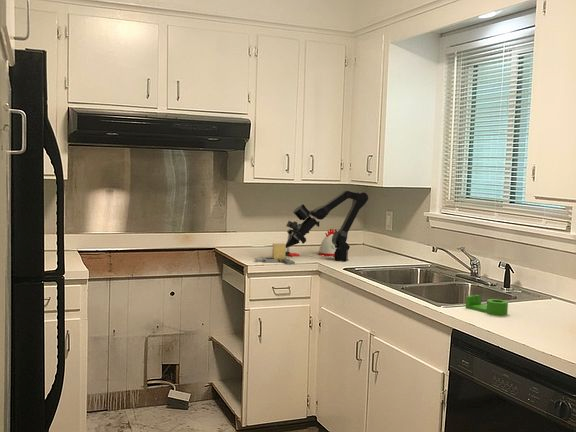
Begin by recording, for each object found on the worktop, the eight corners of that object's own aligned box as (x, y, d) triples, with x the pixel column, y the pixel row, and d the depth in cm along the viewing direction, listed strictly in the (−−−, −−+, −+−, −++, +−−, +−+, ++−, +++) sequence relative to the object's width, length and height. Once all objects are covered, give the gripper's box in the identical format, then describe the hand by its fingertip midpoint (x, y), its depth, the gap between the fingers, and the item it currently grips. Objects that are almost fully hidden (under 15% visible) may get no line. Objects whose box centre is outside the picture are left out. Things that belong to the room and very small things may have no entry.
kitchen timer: (347, 256, 358) (348, 229, 357) (326, 257, 352) (327, 230, 351) (334, 252, 370) (335, 227, 369) (314, 253, 364) (315, 227, 363)
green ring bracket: (511, 315, 225) (512, 302, 225) (498, 317, 222) (499, 304, 221) (477, 306, 238) (478, 294, 238) (464, 308, 234) (465, 296, 234)
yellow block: (283, 260, 334) (283, 243, 333) (285, 261, 330) (285, 244, 329) (272, 260, 332) (272, 243, 332) (274, 261, 328) (274, 244, 328)
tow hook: (289, 254, 360) (280, 255, 353) (291, 231, 360) (281, 232, 352) (302, 256, 356) (292, 257, 348) (303, 233, 355) (294, 233, 347)
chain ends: (287, 259, 337) (287, 257, 337) (294, 264, 323) (294, 261, 323) (254, 260, 332) (254, 257, 332) (260, 264, 318) (260, 261, 318)
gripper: (291, 214, 340) (270, 234, 338) (301, 217, 323) (279, 238, 320) (304, 228, 343) (284, 249, 341) (315, 232, 325) (293, 254, 323)
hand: (285, 247), depth 331 cm, fingers closed, pressing on yellow block
